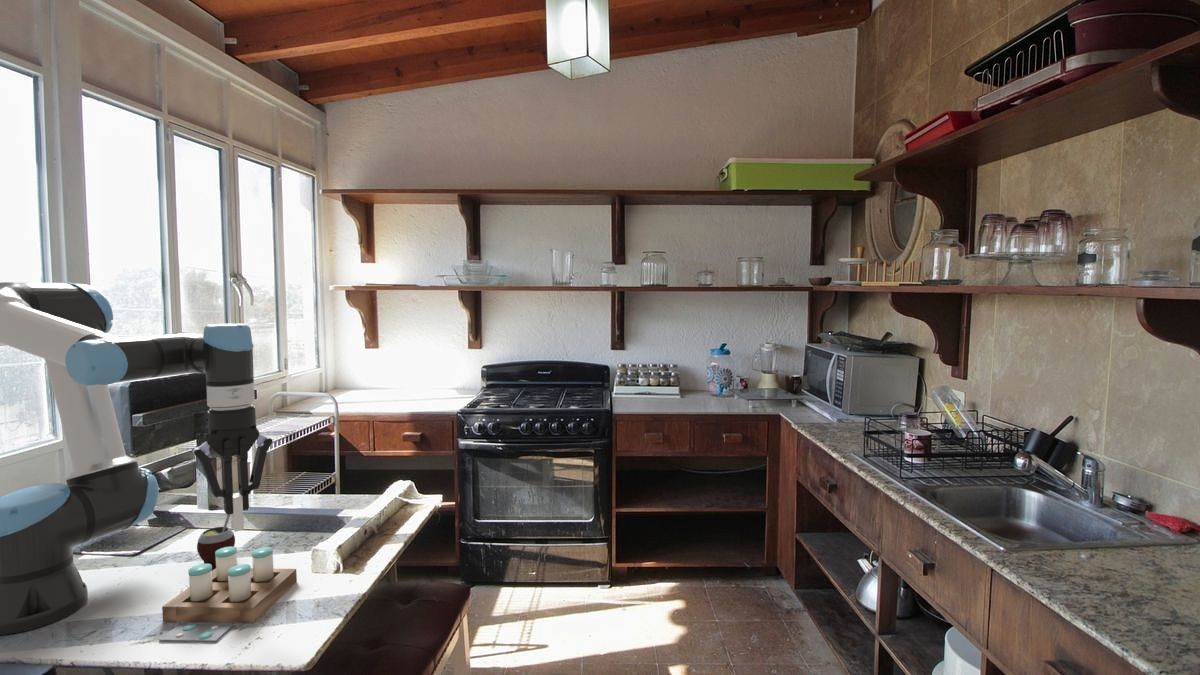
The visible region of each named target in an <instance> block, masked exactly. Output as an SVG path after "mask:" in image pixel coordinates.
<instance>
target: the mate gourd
mask: <svg viewBox="0 0 1200 675" xmlns="http://www.w3.org/2000/svg"><path fill="white" fill-rule="evenodd" d="M230 518H231V514H229V515H227V514H226V519H225V521H224V525H223V526H214V527H211V528H208V529H206V530H204V531H203V532H202V533H201V534H200V536H199V537H198V540H197V544H196V550H197V553H198V555H199V557H200V559H201V560H202V561H203V563H202V564H211V565H212V571H213V570H214V569H216V556H215V552H216V551H217V550H219V549H221V548H225V547H235V544H236V536H235V534H234V533H235V532H234V531H233V529H232V528H231V527H228V523H229V520H230Z"/></svg>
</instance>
